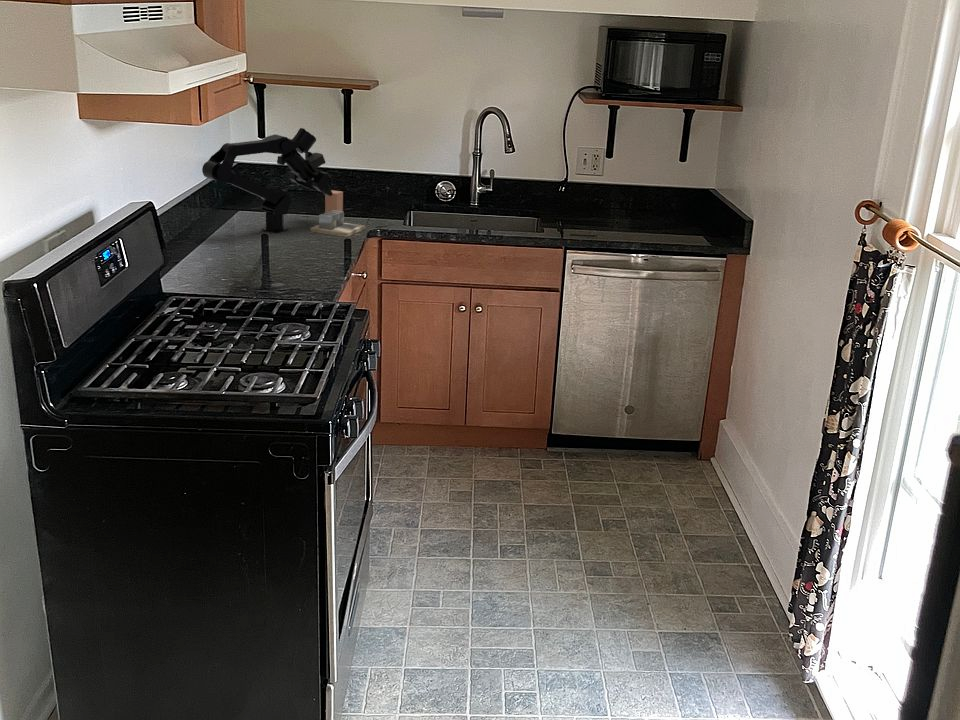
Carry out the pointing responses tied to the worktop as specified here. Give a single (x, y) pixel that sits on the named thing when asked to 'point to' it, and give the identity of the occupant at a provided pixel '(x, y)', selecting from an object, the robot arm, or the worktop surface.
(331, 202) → the terracotta block
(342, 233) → the maple board
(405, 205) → the worktop surface
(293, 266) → the worktop surface
